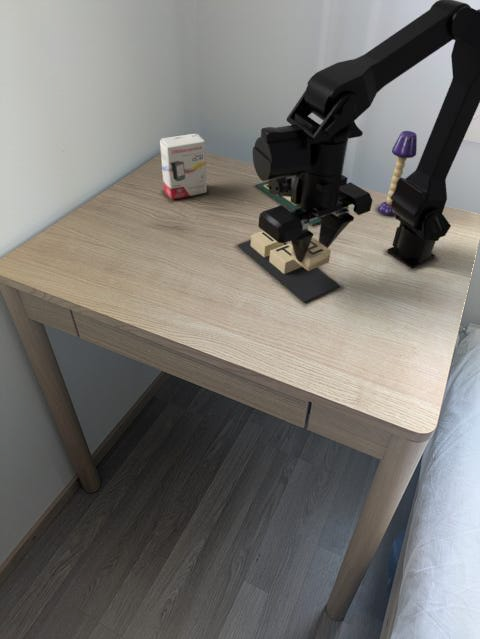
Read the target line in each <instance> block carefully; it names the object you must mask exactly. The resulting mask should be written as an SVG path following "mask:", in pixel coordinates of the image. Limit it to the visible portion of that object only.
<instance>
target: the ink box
mask: <svg viewBox="0 0 480 639" xmlns="http://www.w3.org/2000/svg"><path fill="white" fill-rule="evenodd" d="M159 146H160V158H161V160H160V161H161V172H162V173H161V174H162V185H163V192H164V194H165V195H166V196H167V197H168V198H170V200H177V199H183V198H188V197H192V196H196V195H197V196H198V195H201V194H206V193H207V192H208V191H207V163H206V141H205V140H204V138H203V137H202V136H201V135H199V134H198V133H189V134H182V135H177V136H168V137H161V139H160V140H159Z"/></svg>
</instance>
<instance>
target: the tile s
mask: <svg viewBox="0 0 480 639" xmlns="http://www.w3.org/2000/svg"><path fill="white" fill-rule="evenodd" d="M331 251H332V250H331V249H330V248H329V247H328V248H327V247H325V246H324V245H323V244H321V243H320V242H319V240H317V239H316V238H314V237H312V240H311V242H310V245H309V247H308V250H307V252H306V255H305V257H304V259H303V261H302V262H299V261H298V260H297V259H296V256H295V252H294V249H293V247H292V256H291V258H292V259H294V260H295V261H296V262H297V263H299V264H300V265H301V266H302V267H304V268H305V269H306V270H307V271H310V270H312V269H315V268H319V267H323V266H325V265H326V264H329V263H330V258H331V253H332V252H331Z"/></svg>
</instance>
